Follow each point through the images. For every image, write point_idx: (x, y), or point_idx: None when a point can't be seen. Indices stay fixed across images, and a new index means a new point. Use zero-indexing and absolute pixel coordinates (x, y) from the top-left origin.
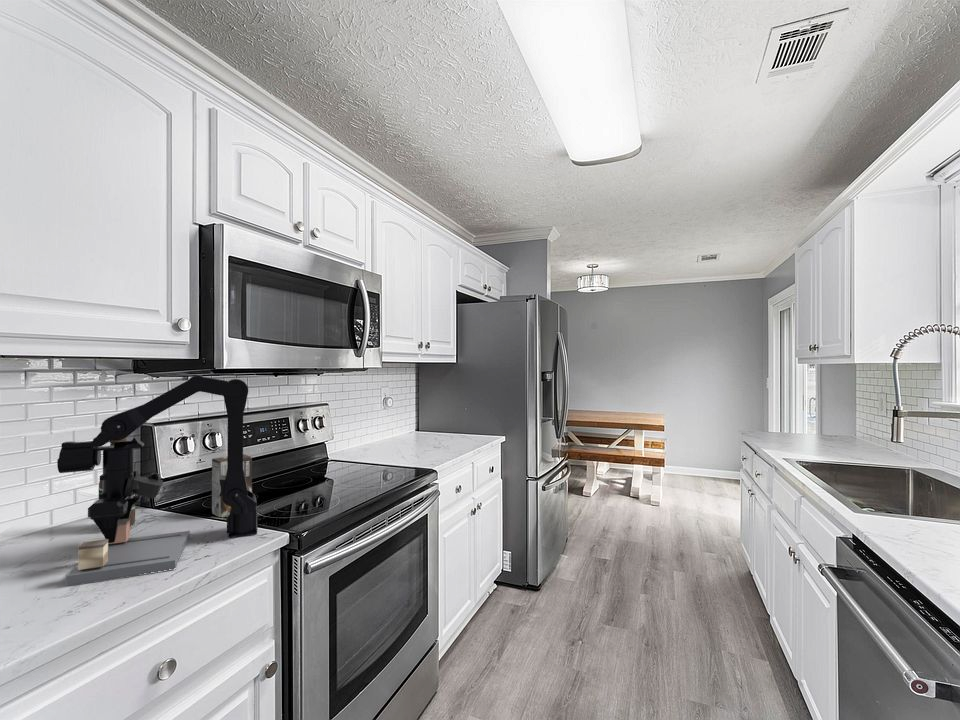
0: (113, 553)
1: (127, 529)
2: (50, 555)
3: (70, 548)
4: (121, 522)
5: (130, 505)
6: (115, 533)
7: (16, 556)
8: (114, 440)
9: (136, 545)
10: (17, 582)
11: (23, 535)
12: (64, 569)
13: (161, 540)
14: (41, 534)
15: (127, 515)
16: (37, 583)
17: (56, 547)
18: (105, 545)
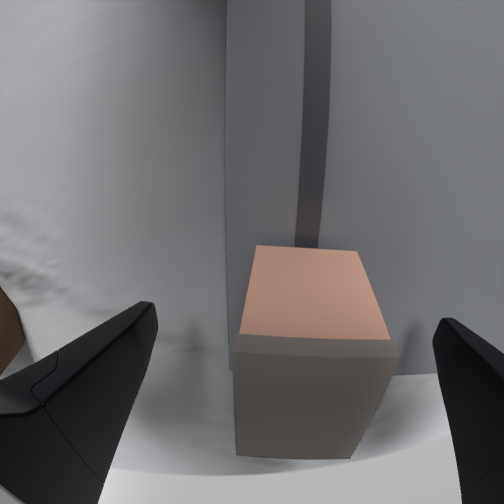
0: (481, 278)
1: (335, 297)
2: (220, 436)
3: (167, 408)
4: (368, 392)
5: (36, 426)
6: (498, 350)
7: (197, 469)
8: None
9: (426, 176)
10: (419, 438)
11: None
12: (403, 388)
13: (394, 22)
14: None
15: (101, 368)
16: None
17: (147, 428)
18: None
